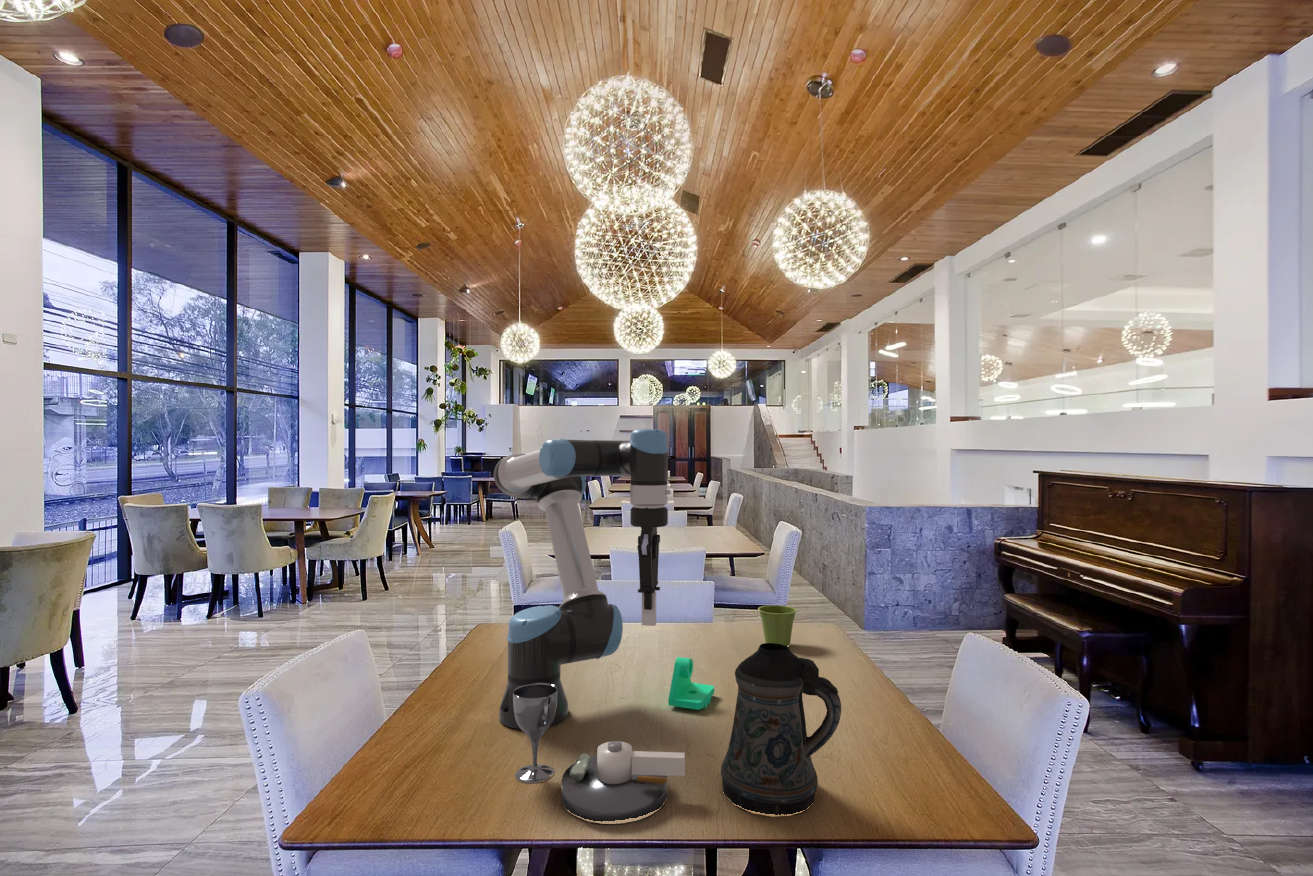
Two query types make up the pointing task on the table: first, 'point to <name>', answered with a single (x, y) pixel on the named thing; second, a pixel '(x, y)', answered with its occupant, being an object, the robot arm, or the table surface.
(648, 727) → the table surface
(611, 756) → the knob
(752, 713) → the beer stein
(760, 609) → the plant pot
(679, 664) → the camera mount
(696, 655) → the table surface
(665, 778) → the base
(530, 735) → the wine glass
